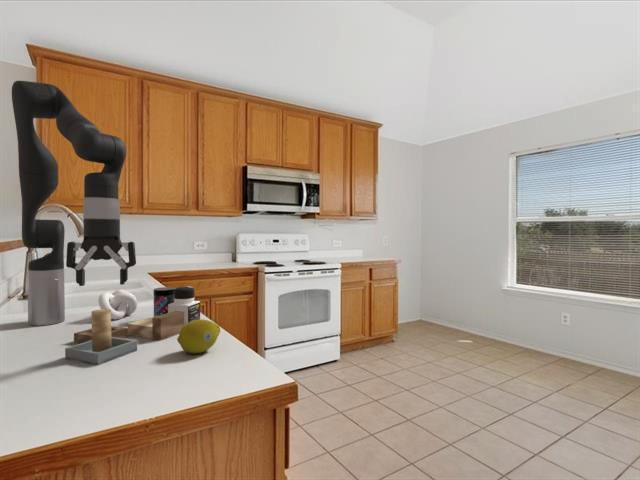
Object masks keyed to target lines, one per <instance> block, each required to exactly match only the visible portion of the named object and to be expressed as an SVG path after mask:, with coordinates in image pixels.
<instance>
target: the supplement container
mask: <svg viewBox="0 0 640 480" xmlns="http://www.w3.org/2000/svg"><path fill="white" fill-rule="evenodd" d="M175 289H176V288H175V287H170V286H169V287H168V286H166V287H165V286H164V287H156V288H153V289H152V290H153V293H152V294H153V317H156V316H160V315H163V314H167V313H168V304H171V303H174V302H175V301H174V290H175Z"/></svg>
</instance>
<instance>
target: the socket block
mask: <svg viewBox="0 0 640 480" xmlns="http://www.w3.org/2000/svg"><path fill="white" fill-rule="evenodd" d="M111 337H116V338H123V339H127V338H128V337H129V334H128V327H122V326H115V325H111ZM91 340H92V328H88V329H84V330H81V331H77V332H74V333H73V343H74V344H81V343H84V342H88V341H91Z"/></svg>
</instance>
